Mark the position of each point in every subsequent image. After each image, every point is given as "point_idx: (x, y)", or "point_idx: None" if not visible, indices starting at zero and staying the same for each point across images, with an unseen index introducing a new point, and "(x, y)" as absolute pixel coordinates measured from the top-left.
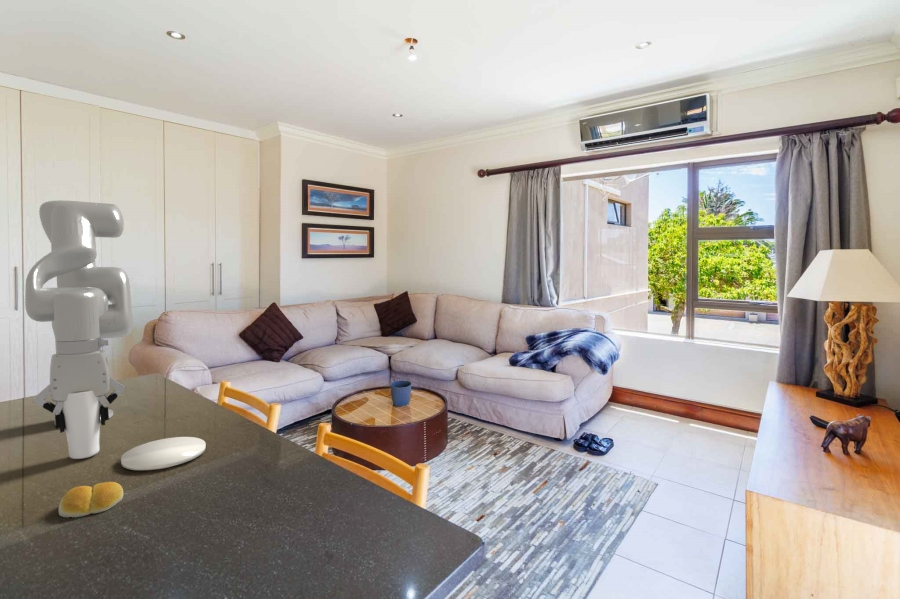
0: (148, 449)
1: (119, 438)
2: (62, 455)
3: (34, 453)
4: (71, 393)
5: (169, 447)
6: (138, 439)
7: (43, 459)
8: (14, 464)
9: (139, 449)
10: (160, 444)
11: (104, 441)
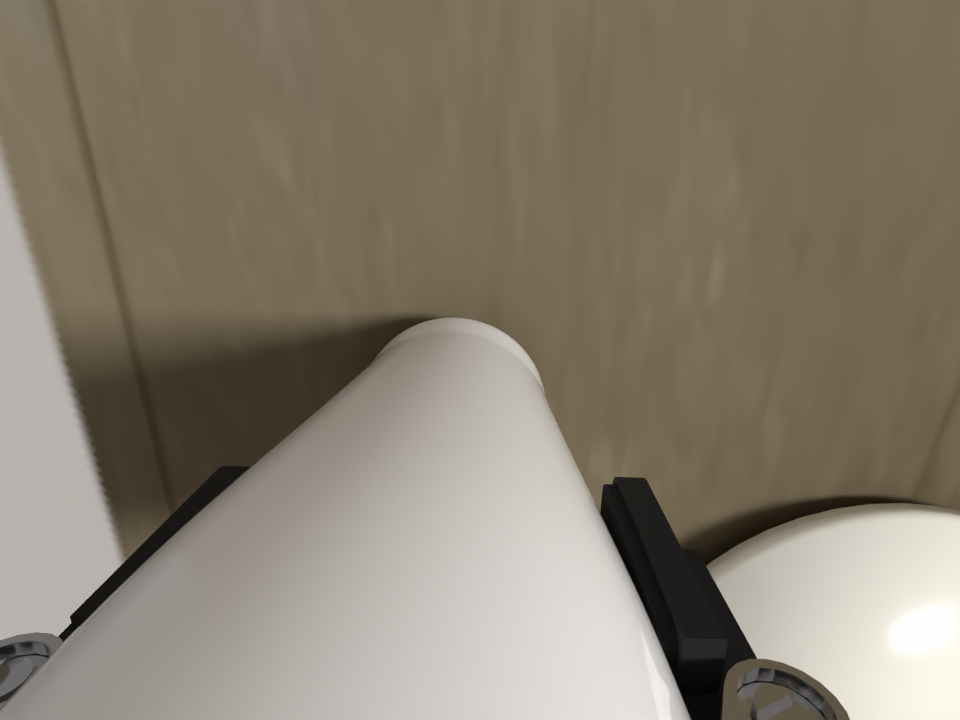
0: (798, 656)
1: (707, 95)
2: (324, 256)
3: (128, 53)
4: None
5: (907, 701)
6: (818, 237)
7: (218, 260)
8: (61, 241)
9: (754, 622)
10: (887, 617)
11: (596, 98)
